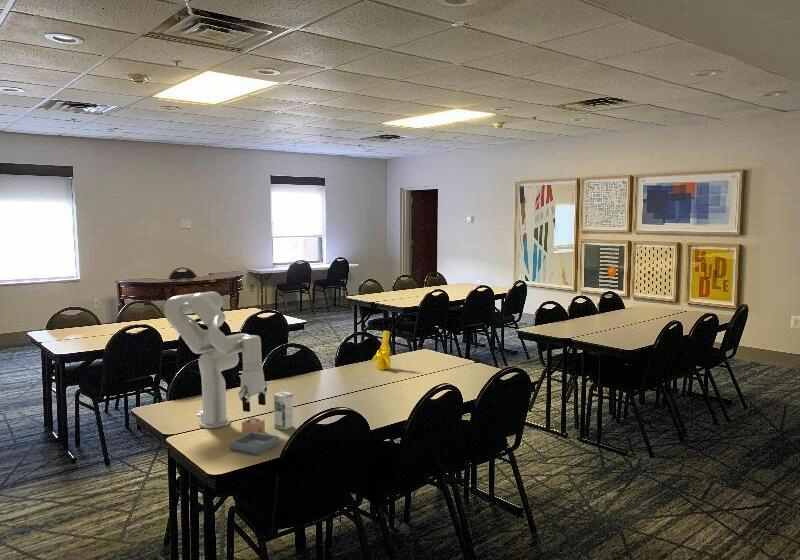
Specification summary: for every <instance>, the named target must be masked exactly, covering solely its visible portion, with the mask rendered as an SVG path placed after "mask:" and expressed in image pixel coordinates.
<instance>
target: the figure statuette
mask: <svg viewBox="0 0 800 560" xmlns="http://www.w3.org/2000/svg"><path fill="white" fill-rule="evenodd" d="M381 338H382V343H381V345H380V347H379V349H378V350H377V351H376V354H375V355H373V357H372V359H371V361H370V362H372V363H374V362H375V361H376V360H377V361H376V369H377V370H379V371H381V370H382V371H383V370H389V369H390V368H391V357H390V353H391V347H390V344H389V341H390V331H388V330H383V331H382V337H381Z"/></svg>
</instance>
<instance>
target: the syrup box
mask: <svg viewBox="0 0 800 560" xmlns="http://www.w3.org/2000/svg"><path fill="white" fill-rule="evenodd" d="M273 405H274V406H273V408H274V409H273V410H274V411H273V412H274V413H273V414H274V415H273V417H274V429H279V430H283V431H286V430H288V429H290V428H293V427H294V394H293V392H286V391H279V392H276V393H274V394H273Z"/></svg>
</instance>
